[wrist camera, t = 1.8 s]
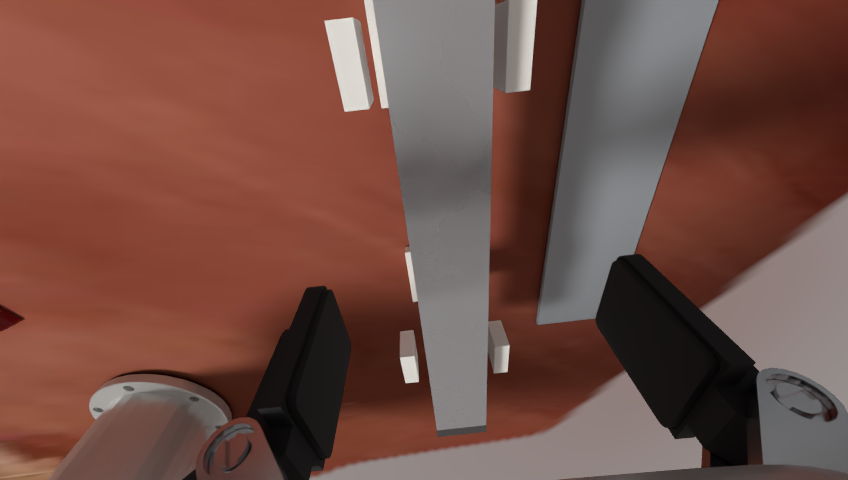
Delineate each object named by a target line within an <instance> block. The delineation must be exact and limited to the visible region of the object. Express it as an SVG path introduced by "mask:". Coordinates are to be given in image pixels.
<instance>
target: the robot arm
mask: <svg viewBox="0 0 848 480" xmlns="http://www.w3.org/2000/svg"><path fill="white" fill-rule="evenodd" d="M596 324H597V327H598V328H599V330H600V332H601V333H602V335H603V336H604V338H605V339H606V341H607V342H608V344H609V345H610V347H611V349H612V350H613V352H614V353H615V355H616V356H617V358H618V359H619V361H620V362H621V364H622V366H623V367H624V369H625V370H626V372H627V373H628V375H629V376H630V378H631V379H632V381H633V382H634V384H635V386H636V387H637V389H638V390H639V392H640V393H641V395H642V396H643V398H644V399H645V401H646V403H647V404H648V405H649V407H650V409H651V410H652V412H653V413H654V415H655V416H656V418H657V419H658V421H659V422H660V424H661V425H662V426H664V427H666V428H668V429H669V430H670V432H671V433H672V435H673V436H674V438H675V439H681V438H692V437H695V436H696V438H697V439H698V440H699V442H700V443H701V444H702V446H703V447H702V465H701V468H694V469H681V470H669V471H656V472H645V473H633V474H620V475H608V476H597V477H596V476H595V477H584V478H573V479H562V480H848V413H847V411H846V409H845V407H844V405H843V404H842V403H841V402H840V401H839V400H838V399H837V398H836V397H835V395H833V394H832V393H831V392H829V391H828V390H827V389H826V388H824V387H823V386H821V385H820V384H818V383H816V382H815V381H813V380H811V379H809V378H807V377H805V376H803V375H800V374H798V373H796V372H792V371H788V370H785V369H778V368H768V369H763V370H762V371H760V372H759V371H758V370H757V369H756V368H755V367H754V366H753V365H754V364H755V361H754V360H752V359H751V358H750V357H749V356H748V355H747V354H746V353H745V352H744V351H743V350H742V349H741V348H740V347H739V346H738V345H737V344H735V343H734V342H733V341H732V340H731V339H730V338H729V337H728V336H727V335H726V334H725V333H724V332H723V331H722V330H721V329H719V327H718V326H716V325H715V324H714V323H713V322H712V321H711V320H710V319H709V318H708V317H707V316H706V315H705V314H704V313H703V312H702V311H701V310H699V309H698V308H697V307H696V306H695V305H694V304H693V303H692V302H691V301H690V300H689V299H688V298H687V297H686V296H685V295H684V294H682V293H681V292H680V291H679V290H678V289H677V288H676V287H675V286H674V285H673V284H672V283H671V282H670V281H669V280H668V279H667V278H666V277H664V276H663V275H662V274H661V273H660V272H659V271H658V270H657V269H656V268H655V267H654V266H653V265H652V264H651V263H650V262H649V261H647V260H646V259H645V258H644V257H643V256H642V255H640V254H634V255H624V256H619V257H618V258H617V260H616V261H614V262H612V265H611V268H610V271H609V274H608V278H607V281H606V284H605V288H604V291H603V294H602V297H601V301H600V304H599V307H598V311H597V314H596ZM350 352H351V342H350V339H349V336H348V333H347V330H346V327H345V325H344V322H343V319H342V316H341V313H340V311H339V308H338V305H337V302H336V299H335V296H334V294H333V291H332V290H327V288H326V287H325V286H319V287H309V288H307V289H306V290H305V293H304V295H303V297H302V300H301V302H300V305H299V307H298V310H297V312H296V315H295V317H294V319H293V322H292V324H291V327H290V329H287V330H285V331H284V332H283V333H282V335H281V337H280V339H279V342H278V344H277V346H276V349H275V351H274V353H273V356H272V358H271V360H270V363H269V365H268V367H267V370H266V372H265V374H264V377H263V379H262V381H261V384H260V386H259V388H258V391H257V393H256V395H255V398H254V400H253V402H252V405H251V407H250V409H249V412H248V414H247V416H246V417H241V418H237V419H234V420H232V414H231V411H230V409H229V407H228V405H227V404H226V403H225V402H224V400H223V399H221V398H220V397H219V396H218V395H217V394H215V393H214V392H212V391H210V390H209V389H207V388H205V387H203V386H200V385H198V384H196V383H193V382H190V381H187V380H184V379H180V378H176V377H172V376H166V375H158V374H133V375H126V376H121V377H117V378H114V379H112V380H109V381H107V382H106V383H104V384H103V385H102V386H100V388H99V389H98V390H97V391H96V392H95V394H94V395H93V396H92V397H91V399H90V402H89V408H90V411H91V413H92V415H93V417H94V418H95V419H96V420H95V422H94V423H93V424H92V425H91V426H90V428H89V429H88V430H87V431H86V433H85V434H84V435H83V436H82V438H81V439H80V440H79V441H78V442H77V444H76V445H75V446H74V447H73V449H72V450H71V451H70V452H69V453H68V455H67V456H66V457H65V458H64V460H63V461H62V462H61V463H60V465H59V466H58V467H57V468H56V469H55V471H54V472H53V473H52V474H51V476H50V477H49V478H48V479H47V480H309V478H310V473H311V471H322V470H323V468H324V463H325V459H326V458H330V456H331V454H332V449H333V444H334V439H335V433H336V428H337V422H338V417H339V412H340V406H341V401H342V396H343V390H344V385H345V379H346V374H347V369H348V363H349V358H350Z"/></svg>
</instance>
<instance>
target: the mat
mask: <svg viewBox="0 0 848 480" xmlns="http://www.w3.org/2000/svg"><path fill="white" fill-rule="evenodd" d="M718 1H719V0H582V2H581V9H580V16H579V23H578V30H577V37H576V44H575V51H574V58H573V65H572V72H571V79H570V86H569V93H568V100H567V107H566V114H565V121H564V128H563V135H562V142H561V150H560V157H559V164H558V171H557V178H556V185H555V192H554V199H553V206H552V213H551V220H550V227H549V234H548V241H547V248H546V255H545V262H544V269H543V276H542V283H541V290H540V297H539V304H538V311H537V318H536V323H537V325H541V324H550V323H558V322H567V321H576V320H585V319H594V318H596V314H597V311H598V307H599V304H600V301H601V297H602V294H603V291H604V288H605V284H606V281H607V278H608V274H609V271H610V268H611V265H612V262H614V261H616V260H617V258H618V257H619V256H624V255H634V252H635V249H636V246H637V243H638V240H639V237H640V234H641V231H642V228H643V225H644V222H645V219H646V216H647V213H648V211H649V208H650V205H651V202H652V199H653V196H654V193H655V190H656V187H657V184H658V181H659V178H660V175H661V172H662V169H663V166H664V163H665V160H666V157H667V154H668V151H669V148H670V145H671V142H672V139H673V136H674V133H675V130H676V127H677V124H678V121H679V118H680V115H681V112H682V109H683V106H684V103H685V100H686V97H687V94H688V91H689V88H690V85H691V82H692V79H693V76H694V73H695V70H696V67H697V64H698V61H699V58H700V55H701V52H702V49H703V46H704V43H705V40H706V37H707V34H708V31H709V28H710V25H711V22H712V19H713V16H714V13H715V10H716V7H717V4H718Z"/></svg>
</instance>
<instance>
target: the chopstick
mask: <svg viewBox="0 0 848 480" xmlns="http://www.w3.org/2000/svg"><path fill="white" fill-rule="evenodd" d="M20 320H21V318H19V317H17V316H16V315H14V314H12V313H10V312H8V311H6V310H5V309H3V308H1V307H0V331H3V330H5V329H7V328H9V327H10V326H12V325H14V324H16V323H18V322H19V321H20Z"/></svg>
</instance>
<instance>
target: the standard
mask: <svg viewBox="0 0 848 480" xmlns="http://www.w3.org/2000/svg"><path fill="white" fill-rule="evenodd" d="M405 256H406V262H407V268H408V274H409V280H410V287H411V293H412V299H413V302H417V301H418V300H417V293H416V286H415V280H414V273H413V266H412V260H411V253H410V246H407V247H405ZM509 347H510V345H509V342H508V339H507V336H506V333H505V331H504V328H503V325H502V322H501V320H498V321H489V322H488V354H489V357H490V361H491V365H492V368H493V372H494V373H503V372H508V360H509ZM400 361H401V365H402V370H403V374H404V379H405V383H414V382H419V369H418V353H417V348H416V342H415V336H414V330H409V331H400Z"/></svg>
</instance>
